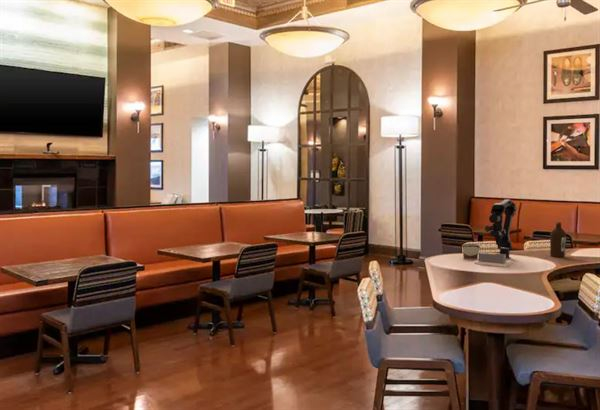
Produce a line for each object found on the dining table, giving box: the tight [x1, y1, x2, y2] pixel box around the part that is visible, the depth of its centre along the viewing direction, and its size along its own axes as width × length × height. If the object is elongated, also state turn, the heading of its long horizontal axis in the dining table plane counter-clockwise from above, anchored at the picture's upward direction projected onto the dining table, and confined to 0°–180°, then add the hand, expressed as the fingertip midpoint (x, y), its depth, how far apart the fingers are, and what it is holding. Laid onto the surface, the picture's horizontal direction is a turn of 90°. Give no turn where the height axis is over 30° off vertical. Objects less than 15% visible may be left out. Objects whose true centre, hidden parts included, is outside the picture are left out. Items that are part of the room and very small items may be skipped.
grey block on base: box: [474, 251, 514, 268], centre depth 373 cm, size 18×20×7 cm
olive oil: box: [549, 221, 567, 258], centre depth 406 cm, size 11×11×25 cm
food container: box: [461, 243, 481, 260], centre depth 393 cm, size 12×6×10 cm, turn 84°
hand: (497, 244), depth 384 cm, fingers closed
